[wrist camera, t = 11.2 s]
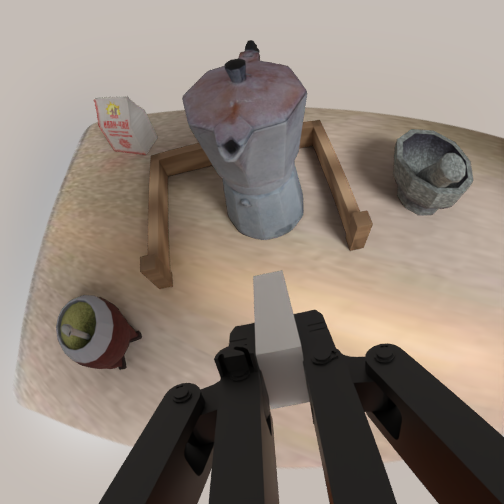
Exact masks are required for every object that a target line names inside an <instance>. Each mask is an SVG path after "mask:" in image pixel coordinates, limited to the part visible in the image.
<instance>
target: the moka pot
mask: <svg viewBox="0 0 504 504" xmlns="http://www.w3.org/2000/svg"><path fill="white" fill-rule="evenodd" d="M306 98H307V91H306V89H305V88H304V86H303V85H302V83H301V82H300V81H299V79H298V78H297V76H296V75H295V74H294V72H293V71H292V70H291V69H290V68H289V67H288V66H285V65H281V64H275V63H270V62H263V61H260V55H259V49H258V48H257V45H256V44H255V43H254V41H252V40H250V41H248V42H247V44H246V46H245V51H244V52H241V53H240V55H239V58H238V59H234V60H230V61H228V62H227V63H226V64H225V66H223V67H219V68H216V69H213V70H210V71H208V72H206V73H205V74H204V75H203V76H202V77H201V78H200V79H199V80H198V81H197V82H196V83H195V84H194V85H193V86H192V87H191V88H190V89H189V90H188V91H187V92H186V93H185V94H184V96H183V104H184V108H185V112H186V116H187V121H188V124H189V127H190V129H191V131H192V132H193V134H194V135H195V137H196V139H197V140H198V142H199V143H200V145H201V147H202V149H203V150H204V152H205V153H206V155H207V156H208V158H209V160H210V162H211V163H212V165H213V166H214V168H215V170H216V171H217V173H218V175H219V176H220V177H222V178H223V185H224V192H225V198H226V205H227V211H228V216H229V218H230V219H231V221H232V223H233V224H234V225H235V227H236V228H237V230H238V231H239V232H241V233H242V234H244V235H246V236H249V237H252V238H256V239H261V240H267V239H272V238H277V237H280V236H282V235H284V234H286V233H288V232H289V231H291V230H292V229H293V228H294V227H295V226H296V224H297V223H298V222H299V220H300V219H301V218H302V216H303V193H302V189H301V185H300V182H299V178H298V175H297V171H296V167H295V163H294V160H295V158H296V156H297V154H298V152H299V145H300V138H301V132H302V125H303V118H304V112H305V105H306Z"/></svg>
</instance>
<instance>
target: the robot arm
mask: <svg viewBox="0 0 504 504" xmlns="http://www.w3.org/2000/svg"><path fill="white" fill-rule="evenodd" d="M253 284H254V315H255V323H252V324H247V325H241V326H236V327H235V328H234V329H233V330H232V332H231V333H230V340H229V342H230V343H229V346H228V347H226V348H224V349H222V350H220V351H219V352H218V353H217V354H216V356H215V358H214V360H215V363H216V366H217V369H218V371H219V374H220V377H221V380H220V381H219V382H217V383H216V384H214V385H211V386H209V387H206V388H203V389H201V390H200V388H199V387H198V386H197V385H195V384H191V383H182V384H179V385H176V386H174V387H173V388H171V389H170V390H169V391H168V392H167V393H166V394H165V396H164V398H163V399H162V401H161V403H160V404H159V406H158V407H157V409H156V411H155V412H154V414H153V416H152V417H151V419H150V421H149V422H148V424H147V425H146V427H145V429H144V430H143V432H142V434H141V435H140V437H139V439H138V440H137V442H136V443H135V445H134V447H133V448H132V450H131V452H130V453H129V455H128V457H127V458H126V460H125V461H124V463H123V465H122V466H121V468H120V470H119V471H118V473H117V474H116V476H115V478H114V480H113V481H112V483H111V484H110V486H109V488H108V489H107V491H106V492H105V494H104V496H103V497H102V499H101V501H100V502H99V504H197V503H198V501H199V498H200V496H201V493H202V491H203V488H204V486H205V484H206V481H207V479H208V476H209V474H210V471H211V468H212V472H211V483H210V494H209V504H279V495H278V482H277V469H276V457H275V445H274V432H273V420H272V416H271V413H270V407H271V409H274V408H280V407H285V406H291V405H296V404H301V403H306V402H310V405H311V411H312V417H313V424H314V426H315V431H316V436H317V441H318V445H319V450H320V456H321V461H322V466H323V470H324V476H325V481H326V486H327V492H328V497H329V502H330V504H397V503H396V500H395V497H394V494H393V491H392V488H391V485H390V482H389V479H388V476H387V473H386V470H385V467H384V464H383V461H382V459H381V456H380V453H379V450H378V447H377V445H376V442H375V439H374V436H373V434H372V431H371V428H370V426H369V423H368V420H367V417H366V415H365V412H366V413H367V415H368V417H369V418H370V419H371V420H372V422H373V423H374V424H375V425H376V427H377V428H378V429H379V430H380V432H381V433H382V434H383V435H384V437H385V438H386V439H387V440H388V442H389V443H390V444H391V445H392V447H393V448H394V449H395V450H396V452H397V453H398V454H399V455H400V456H401V458H402V459H403V460H404V461H405V463H406V464H407V465H408V466H409V468H410V469H411V470H412V471H413V473H414V474H415V475H416V476H417V478H418V479H419V480H420V481H421V482H422V484H423V485H424V486H425V487H426V489H427V490H428V491H429V492H430V494H431V495H432V496H433V497H434V498H435V500H436V501H437V502H438V503H439V504H504V437H503V436H502V435H501V434H500V433H499V432H497V431H496V430H495V429H494V428H493V427H492V426H491V425H490V424H488V423H487V422H486V421H485V420H484V419H483V418H482V417H480V416H479V415H478V414H477V413H476V412H475V411H474V410H472V409H471V408H470V407H469V406H468V405H467V404H466V403H464V402H463V401H462V400H461V399H460V398H459V397H457V396H456V395H455V394H454V393H453V392H452V391H451V390H449V389H448V388H447V387H446V386H445V385H444V384H442V383H441V382H440V381H439V380H438V379H437V378H435V377H434V376H433V375H432V374H431V373H429V372H428V371H427V370H426V369H425V368H424V367H422V366H421V365H420V364H419V363H418V362H417V361H415V360H414V359H413V358H412V357H411V356H409V355H408V354H407V353H406V352H405V351H403V350H402V349H401V348H400V347H398V346H396V345H393V344H380V345H376V346H374V347H372V348H371V349H369V350H368V352H367V353H366V357H350V356H345V355H343V354H341V352H340V351H339V350H338V349H336V347H335V345H334V342H333V340H332V337H331V335H330V332H329V330H328V328H327V325H326V323H325V320H324V317H323V315H322V314H321V313H319V312H318V311H317V310H311V311H307V312H302V313H297V314H293V310H292V307H291V303H290V299H289V295H288V291H287V287H286V283H285V279H284V275H283V271H282V270H281V271H277V272H272V273H267V274H262V275H257V276H253ZM269 404H270V405H269Z"/></svg>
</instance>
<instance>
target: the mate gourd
mask: <svg viewBox="0 0 504 504" xmlns="http://www.w3.org/2000/svg"><path fill="white" fill-rule="evenodd" d="M56 330H57V338H58V341H59V343H60V345H61V347H62V349H63V351H64V353H65V354H66V355H67V356H68V357H70V358H71V359H72V360H73V361H75V362H77V363H78V364H80V365H82V366H86V367H90V368H96V369H113V368H117V367H119V369H120V370H121V369H126V368H127V367H126V362H125V358H124V354H125V352H126V350H127V348H128V345H129V343H130V342H133V341H136V340H138V339H141V338H142V335H141V333H140V332H139V331H136V332H135V331H134V329H133V328H132V327H131V326H130V325H129V324H128V322H127V321H126V319H125V318H124V316H123V315H122V314H121V312H120V311H119V309H118V308H117V307H116V306H115V305H113V304H112V303H110V302H109V301H107V300H105V299H103V298H101V297H96V296H90V295H83V296H80V297H77V298H75V299H72V300H71V301H69V302H68V303H67V304H66V305H65V306H64V307H63V308H62V310H61V312H60V314H59V316H58V320H57V326H56Z"/></svg>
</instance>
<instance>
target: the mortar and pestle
mask: <svg viewBox="0 0 504 504" xmlns="http://www.w3.org/2000/svg"><path fill="white" fill-rule="evenodd" d="M393 175H394V178H395V181H396V183H397V184H398V193H397V196H398V197H399V199H400V200H401V202H402V203H403V205H404V207H405V208H407V209H408V210H410V211H412V212H414V213H416V214H417V215H433V214H434V213H435V212H436V211H437V210H438V209H444V208H449V207H451V206H452V205H453V204H455V203H456V202H457V201H458V199H459V198H460V197H461V196H462V195H463V194H464V193H465V192H466V191H467V189H468V188H469V187H470V185H471V184H472V182H473V175H472V168H471V162H470V160H469V159H468V157H467V156H466V155H465V154H464V152H463V151H462V150H461V149H460V148H459V146H458V145H457V144H456V143H455V142H454V141H452V140H450V139H448V138H446V137H444V136H443V135H441V134H439V133H437V132H435V131H431V130H415V129H411V130H410V131H408V132H407V133H406V134H404V135H403V136H401V137H400V138H398V139H397V142H396V145H395V153H394V171H393Z"/></svg>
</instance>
